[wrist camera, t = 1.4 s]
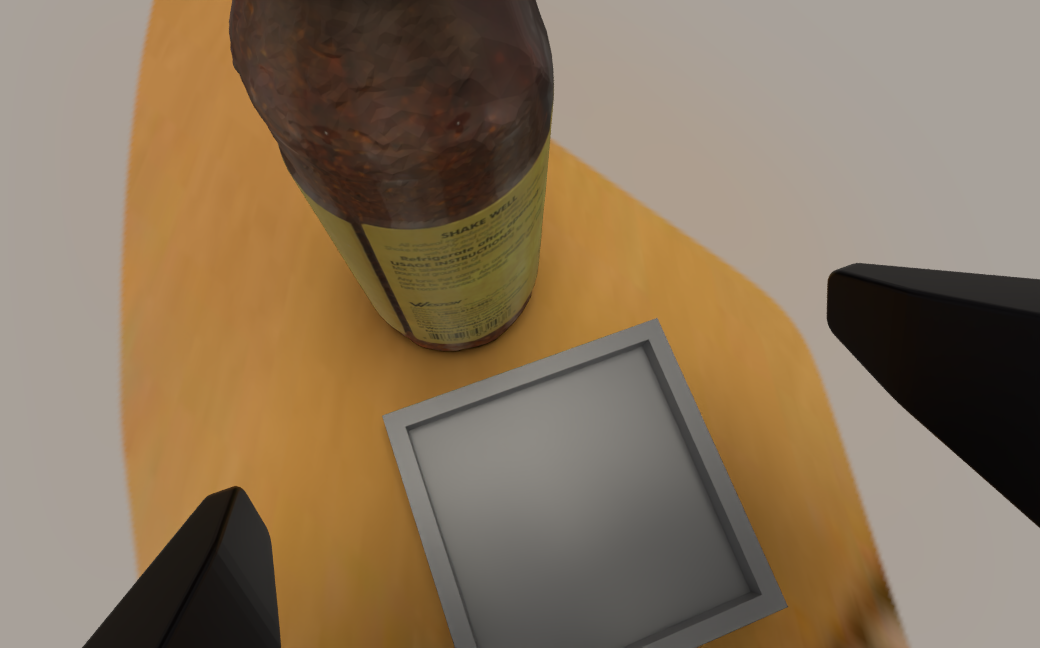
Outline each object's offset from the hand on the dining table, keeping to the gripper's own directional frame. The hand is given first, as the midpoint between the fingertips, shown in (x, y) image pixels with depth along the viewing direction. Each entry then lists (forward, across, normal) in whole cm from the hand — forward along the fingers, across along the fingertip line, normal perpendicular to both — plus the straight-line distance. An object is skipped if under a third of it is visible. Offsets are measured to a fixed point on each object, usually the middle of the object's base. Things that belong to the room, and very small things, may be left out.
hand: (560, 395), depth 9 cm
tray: (+8, -1, +11) cm, 14 cm away
